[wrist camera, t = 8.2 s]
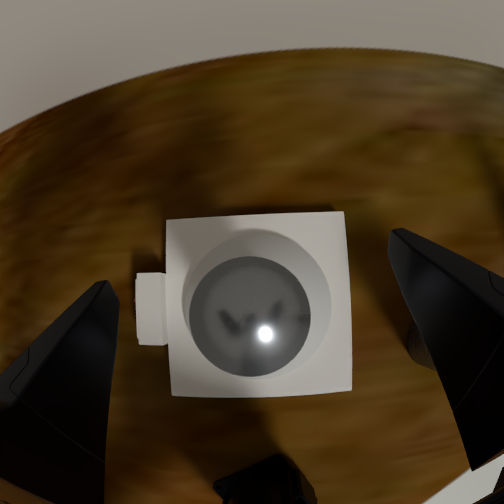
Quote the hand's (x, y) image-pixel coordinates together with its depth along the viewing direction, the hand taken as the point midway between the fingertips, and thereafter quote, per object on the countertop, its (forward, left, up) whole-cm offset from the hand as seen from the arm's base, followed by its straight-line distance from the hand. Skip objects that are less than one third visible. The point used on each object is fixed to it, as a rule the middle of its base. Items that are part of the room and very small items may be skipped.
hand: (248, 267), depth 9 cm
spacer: (-1, -1, -12) cm, 12 cm away
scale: (-2, -1, -14) cm, 14 cm away
